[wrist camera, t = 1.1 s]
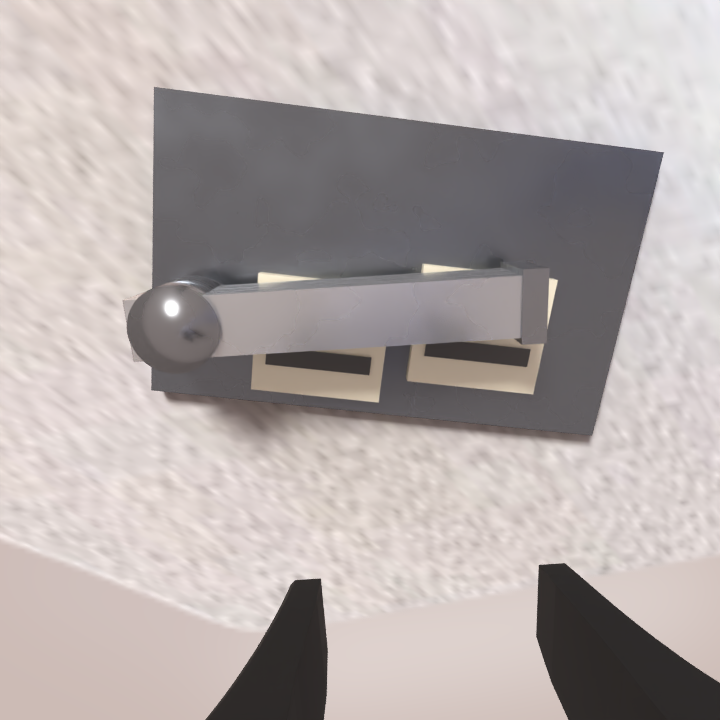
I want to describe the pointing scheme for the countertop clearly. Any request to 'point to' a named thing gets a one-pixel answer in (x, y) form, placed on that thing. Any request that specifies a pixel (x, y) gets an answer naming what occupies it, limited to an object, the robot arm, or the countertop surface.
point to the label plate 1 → (319, 367)
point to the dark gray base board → (400, 234)
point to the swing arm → (335, 314)
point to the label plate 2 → (478, 358)
